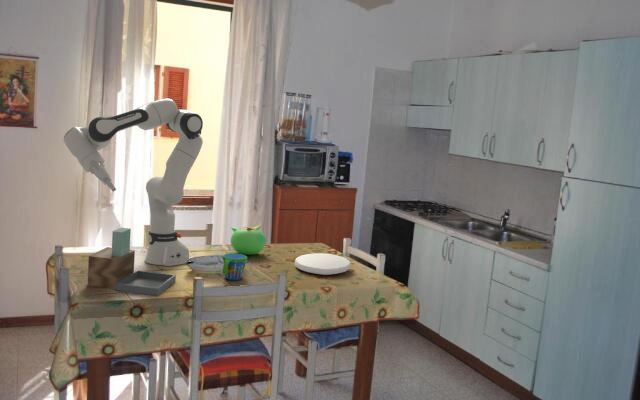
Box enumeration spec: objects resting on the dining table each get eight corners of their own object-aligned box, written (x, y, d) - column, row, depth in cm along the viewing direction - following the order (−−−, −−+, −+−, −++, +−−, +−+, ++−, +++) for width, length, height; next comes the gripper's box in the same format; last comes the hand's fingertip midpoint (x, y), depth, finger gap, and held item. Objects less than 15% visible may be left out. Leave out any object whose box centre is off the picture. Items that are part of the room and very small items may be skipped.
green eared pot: (231, 257, 301) (233, 228, 299) (228, 249, 317) (230, 221, 315) (266, 258, 305) (269, 230, 303) (262, 250, 321) (264, 223, 319)
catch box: (115, 290, 235) (115, 283, 235) (136, 277, 255) (136, 270, 255) (157, 296, 234) (158, 288, 233) (175, 281, 253) (175, 275, 253)
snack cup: (234, 272, 276) (235, 250, 274) (253, 277, 271) (255, 255, 269) (212, 279, 262) (214, 256, 260) (232, 284, 257) (233, 261, 255)
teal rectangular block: (111, 255, 240) (112, 231, 238) (120, 251, 248) (121, 227, 246) (121, 257, 239) (122, 232, 238) (129, 252, 247) (130, 228, 246)
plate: (328, 271, 276) (283, 258, 291) (328, 284, 277) (283, 271, 292) (361, 255, 298) (317, 245, 313) (360, 268, 300) (317, 257, 315)
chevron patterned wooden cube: (87, 285, 238) (88, 256, 237) (106, 274, 254) (107, 247, 252) (116, 289, 237) (118, 259, 235) (133, 278, 253) (134, 250, 251)
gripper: (97, 155, 241) (119, 183, 243) (101, 161, 261) (121, 187, 262) (83, 164, 240) (105, 192, 241) (89, 170, 259) (109, 195, 261)
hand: (114, 189), depth 252 cm, fingers open, 8 cm apart
